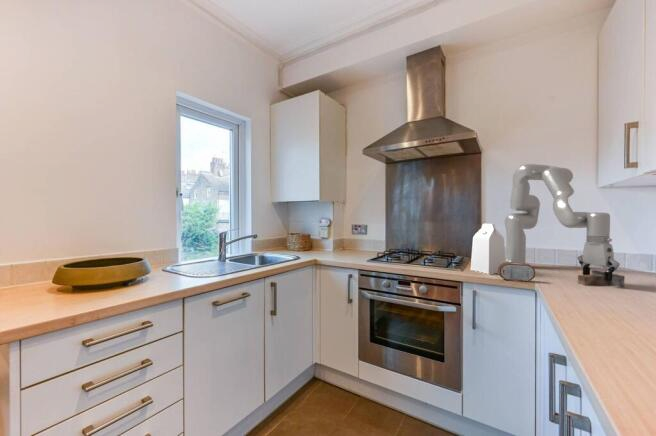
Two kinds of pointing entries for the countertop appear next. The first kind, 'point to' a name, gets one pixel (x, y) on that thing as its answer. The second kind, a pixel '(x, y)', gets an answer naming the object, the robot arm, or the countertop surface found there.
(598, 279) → the brown angular block
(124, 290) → the countertop surface
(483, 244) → the milk
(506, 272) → the tin
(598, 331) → the countertop surface
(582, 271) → the tile
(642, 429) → the countertop surface
